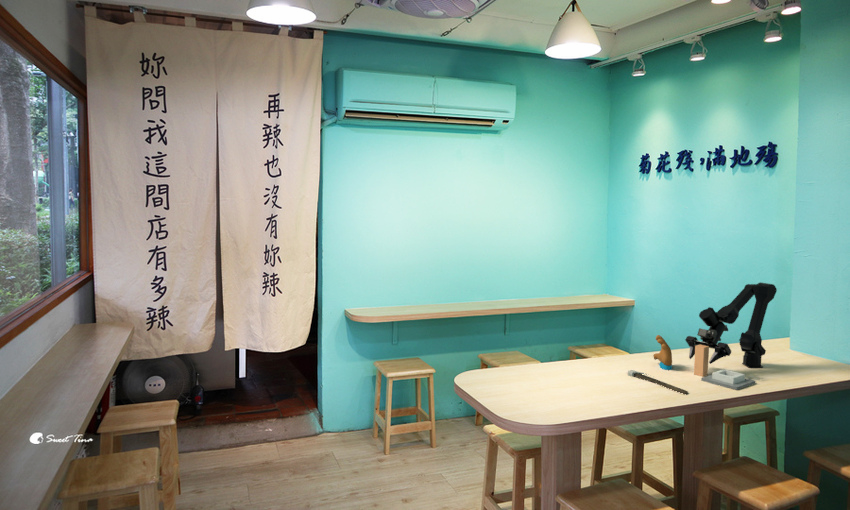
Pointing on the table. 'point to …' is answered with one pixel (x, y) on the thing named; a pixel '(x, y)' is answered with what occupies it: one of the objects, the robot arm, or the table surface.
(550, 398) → the table surface
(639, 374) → the axe
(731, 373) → the housing
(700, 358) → the tan square peg
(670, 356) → the toy
